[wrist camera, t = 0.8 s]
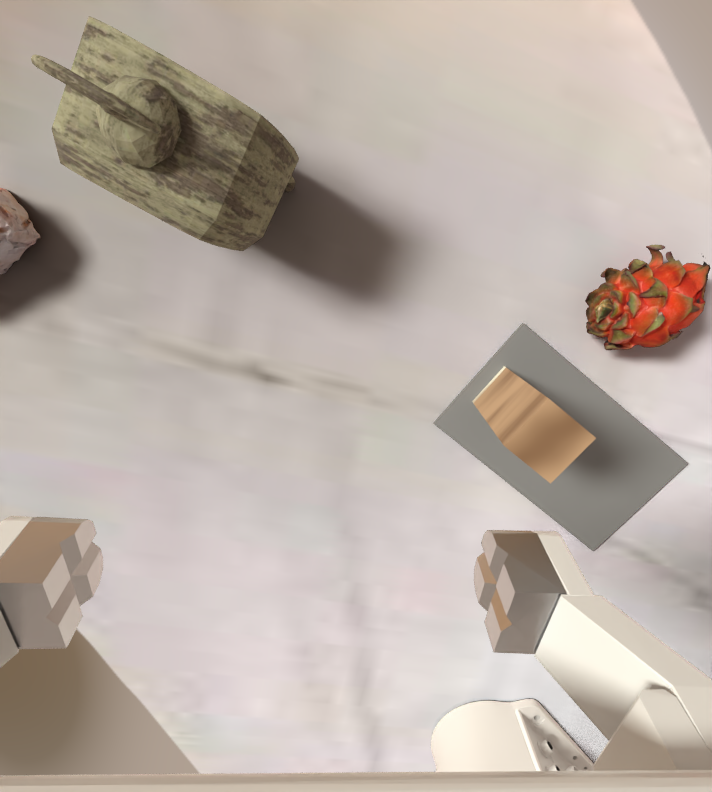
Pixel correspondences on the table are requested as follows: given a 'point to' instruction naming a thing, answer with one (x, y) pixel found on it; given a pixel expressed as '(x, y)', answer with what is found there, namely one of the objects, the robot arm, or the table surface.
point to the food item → (13, 231)
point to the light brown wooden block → (531, 425)
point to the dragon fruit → (646, 301)
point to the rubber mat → (593, 469)
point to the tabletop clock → (168, 140)
